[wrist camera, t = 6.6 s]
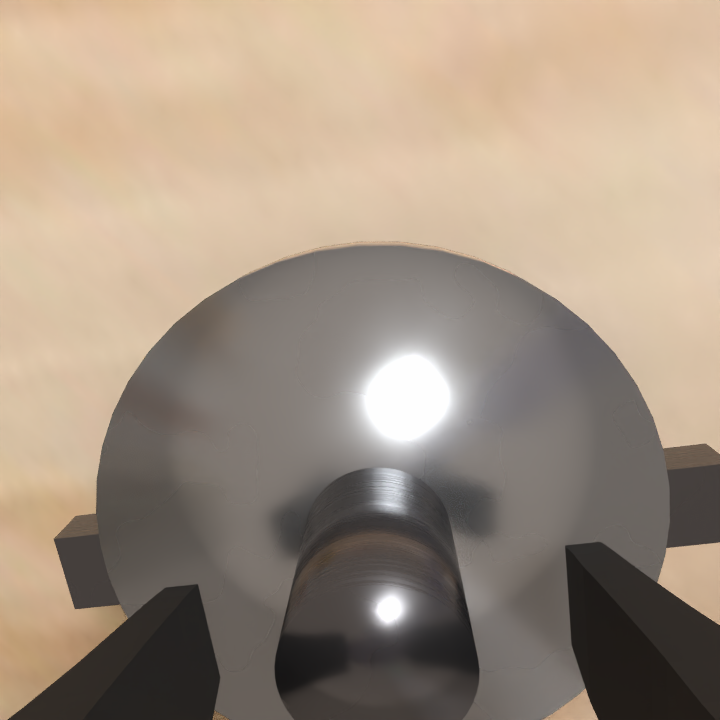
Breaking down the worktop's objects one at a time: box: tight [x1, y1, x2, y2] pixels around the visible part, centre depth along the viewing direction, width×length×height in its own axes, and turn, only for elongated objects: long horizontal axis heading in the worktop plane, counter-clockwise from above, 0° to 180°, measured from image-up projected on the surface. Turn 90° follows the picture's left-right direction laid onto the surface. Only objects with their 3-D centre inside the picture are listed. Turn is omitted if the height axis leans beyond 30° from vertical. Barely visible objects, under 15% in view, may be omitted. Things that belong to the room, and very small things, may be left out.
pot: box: [54, 444, 720, 609], centre depth 15 cm, size 14×10×4 cm
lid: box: [96, 242, 670, 720], centre depth 11 cm, size 11×11×5 cm
